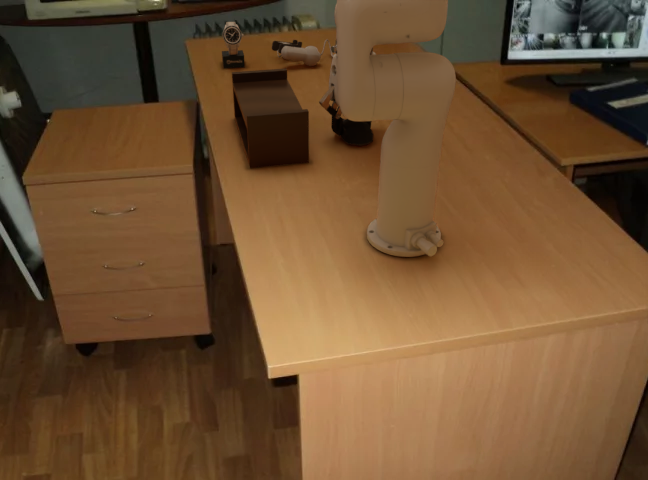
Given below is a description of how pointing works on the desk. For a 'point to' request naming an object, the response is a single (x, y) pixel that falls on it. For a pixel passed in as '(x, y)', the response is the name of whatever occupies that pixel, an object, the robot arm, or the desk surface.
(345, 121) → the gaming mouse
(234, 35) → the watch
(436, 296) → the desk surface
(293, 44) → the clip-on lamp
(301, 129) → the shelf
